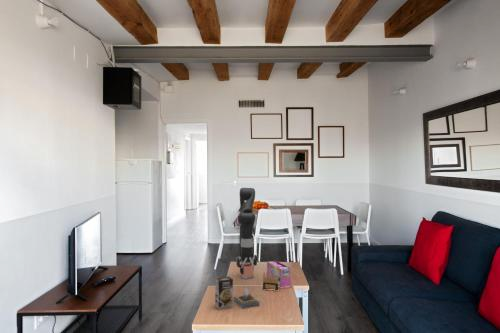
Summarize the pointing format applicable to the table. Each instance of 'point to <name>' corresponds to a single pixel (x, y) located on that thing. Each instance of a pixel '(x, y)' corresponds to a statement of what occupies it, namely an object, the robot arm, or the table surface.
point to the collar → (247, 270)
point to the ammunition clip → (270, 281)
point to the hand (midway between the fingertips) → (246, 273)
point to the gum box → (279, 272)
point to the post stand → (246, 300)
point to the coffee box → (224, 292)
